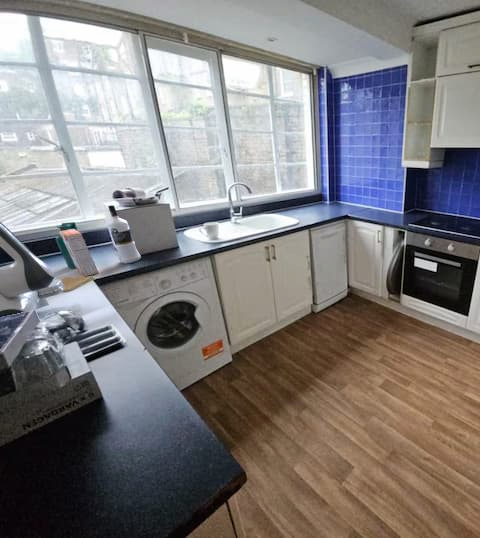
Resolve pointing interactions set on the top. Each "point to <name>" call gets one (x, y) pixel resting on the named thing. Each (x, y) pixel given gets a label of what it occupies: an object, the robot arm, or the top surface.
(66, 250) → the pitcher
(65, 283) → the cork mat
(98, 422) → the top surface
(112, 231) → the vodka
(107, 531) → the top surface
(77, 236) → the cracker box
